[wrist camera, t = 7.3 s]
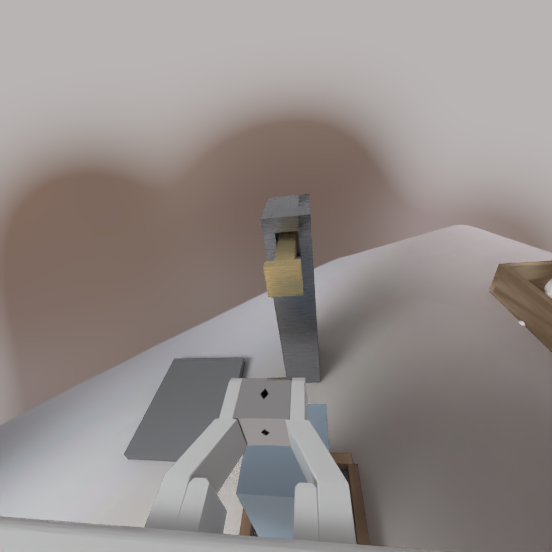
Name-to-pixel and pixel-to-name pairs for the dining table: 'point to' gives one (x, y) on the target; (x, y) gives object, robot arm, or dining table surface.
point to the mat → (183, 407)
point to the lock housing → (302, 309)
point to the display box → (526, 295)
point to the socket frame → (356, 496)
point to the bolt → (284, 268)
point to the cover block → (275, 481)
